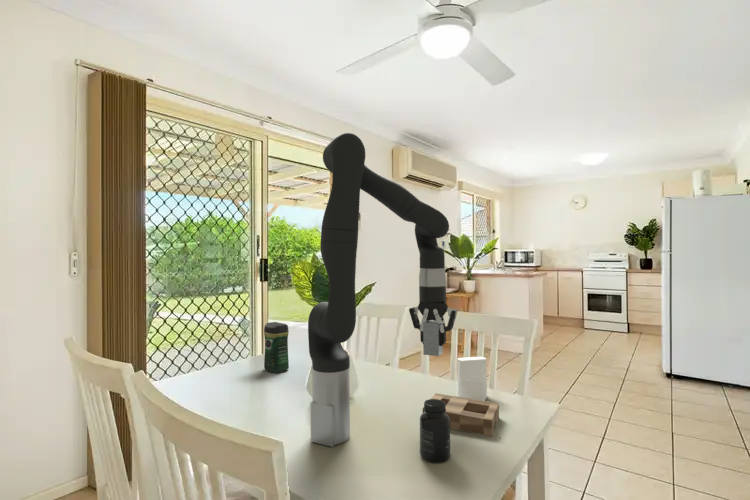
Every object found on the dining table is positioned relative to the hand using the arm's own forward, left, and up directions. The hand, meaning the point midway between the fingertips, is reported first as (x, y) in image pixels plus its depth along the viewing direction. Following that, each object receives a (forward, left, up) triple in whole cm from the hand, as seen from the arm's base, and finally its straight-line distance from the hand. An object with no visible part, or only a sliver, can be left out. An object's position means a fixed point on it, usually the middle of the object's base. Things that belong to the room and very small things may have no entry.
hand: (433, 344), depth 110 cm
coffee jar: (+14, +68, -20) cm, 72 cm away
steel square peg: (0, 0, -3) cm, 3 cm away
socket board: (-1, -8, -20) cm, 21 cm away
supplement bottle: (-22, -7, -20) cm, 30 cm away
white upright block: (+18, -7, -20) cm, 28 cm away
